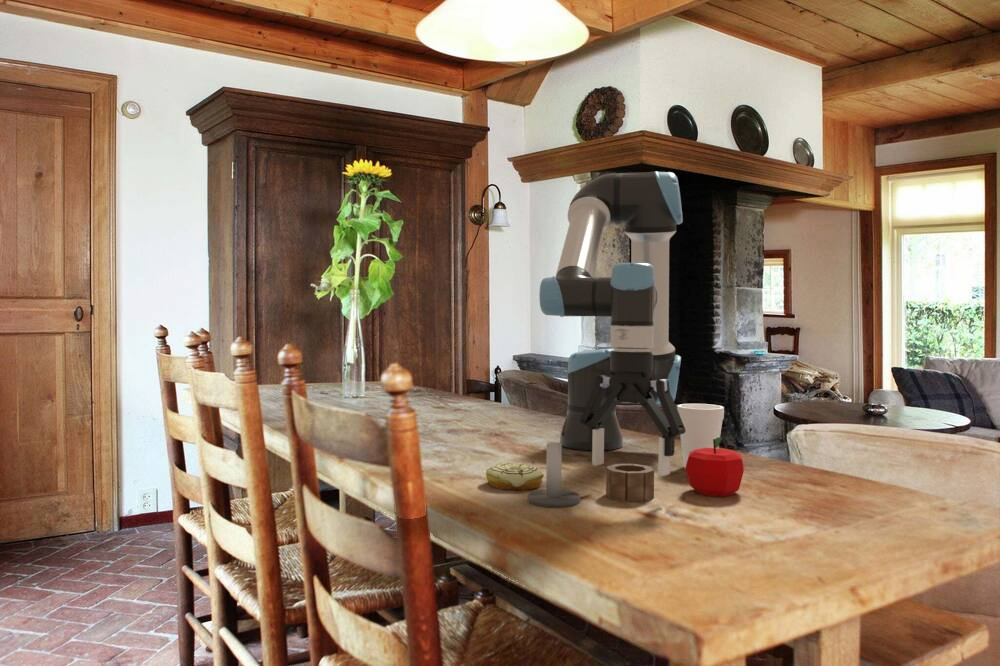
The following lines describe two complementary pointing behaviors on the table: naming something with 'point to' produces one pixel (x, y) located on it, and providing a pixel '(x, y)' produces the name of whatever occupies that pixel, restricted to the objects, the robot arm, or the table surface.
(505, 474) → the decorated donut
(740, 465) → the apple
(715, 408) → the foam cup
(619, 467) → the ring
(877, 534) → the table surface
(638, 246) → the robot arm
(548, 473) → the post
